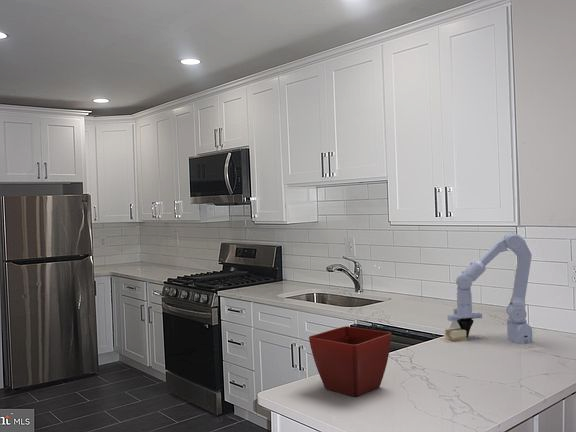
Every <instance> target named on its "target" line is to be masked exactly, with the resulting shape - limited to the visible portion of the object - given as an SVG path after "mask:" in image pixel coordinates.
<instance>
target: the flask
mask: <svg viewBox="0 0 576 432" xmlns="http://www.w3.org/2000/svg"><path fill="white" fill-rule="evenodd" d="M452 310H453V315H454V314H458V311H457V308H453V309H452ZM449 328H460V326H459V324H458V322H457V320H452V321H451V323H450V327H449Z"/></svg>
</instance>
